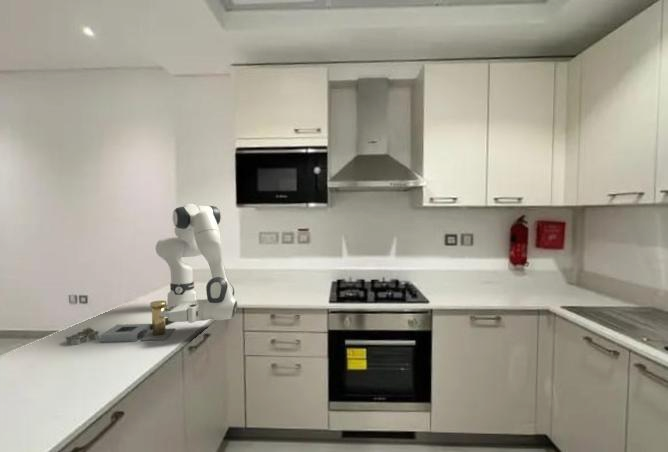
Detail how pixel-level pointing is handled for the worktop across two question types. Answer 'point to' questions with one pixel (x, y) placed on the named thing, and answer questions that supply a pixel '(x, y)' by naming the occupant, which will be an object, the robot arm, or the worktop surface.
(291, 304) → the worktop surface
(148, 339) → the mat
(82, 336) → the egg carton
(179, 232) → the robot arm
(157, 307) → the round headed pin
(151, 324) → the wood
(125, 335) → the housing
